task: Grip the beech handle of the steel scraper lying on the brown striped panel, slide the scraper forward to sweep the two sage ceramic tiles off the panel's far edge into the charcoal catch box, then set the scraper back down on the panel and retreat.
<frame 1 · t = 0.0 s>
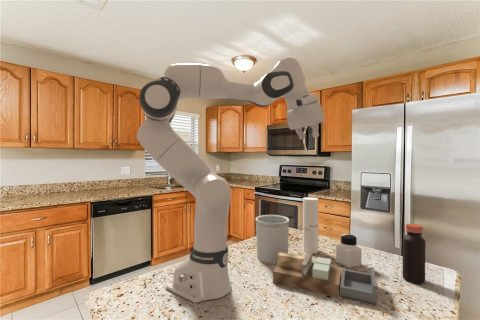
hand: (309, 138, 94), 52 cm above the countertop, tool tilted 20°, fingers open, 8 cm apart
catch box: (357, 290, 83), on the countertop
cylindrical container: (310, 250, 119), on the countertop
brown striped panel: (307, 280, 90), on the countertop
tile a: (321, 275, 85), point 4 cm above the countertop, touching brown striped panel
tile b: (323, 268, 91), point 4 cm above the countertop, touching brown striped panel
utensil holder: (272, 258, 111), on the countertop
medicine bottle: (348, 264, 105), on the countertop
vinegar: (413, 280, 91), on the countertop
scraper: (296, 267, 92), point 4 cm above the countertop, touching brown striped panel
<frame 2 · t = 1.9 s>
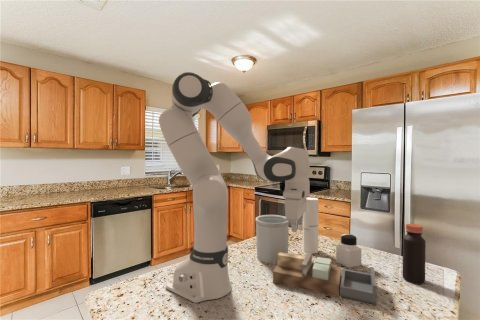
hand: (297, 227, 92), 19 cm above the countertop, tool pointing down, fingers open, 8 cm apart
nothing on the countertop moved.
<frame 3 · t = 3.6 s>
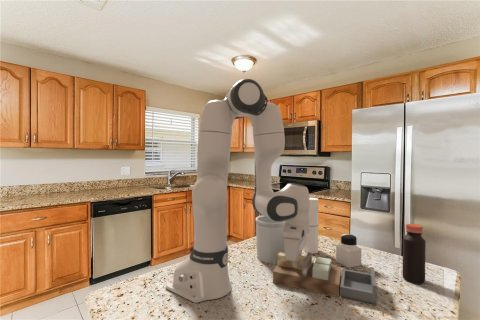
hand: (296, 264, 92), 5 cm above the countertop, tool pointing down, fingers closed on scraper, 3 cm apart
scraper: (296, 267, 92), point 4 cm above the countertop, touching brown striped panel, gripper
everything else where it was.
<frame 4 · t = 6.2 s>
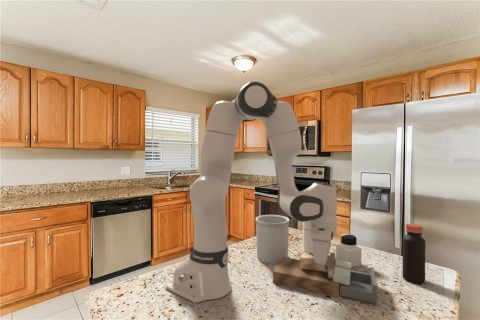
hand: (323, 267, 88), 6 cm above the countertop, tool pointing down, fingers closed on scraper, 3 cm apart
tile a: (341, 279, 83), point 4 cm above the countertop, touching scraper
tile b: (342, 271, 88), point 4 cm above the countertop
scraper: (321, 269, 88), point 5 cm above the countertop, touching gripper, tile a
everything else where it was.
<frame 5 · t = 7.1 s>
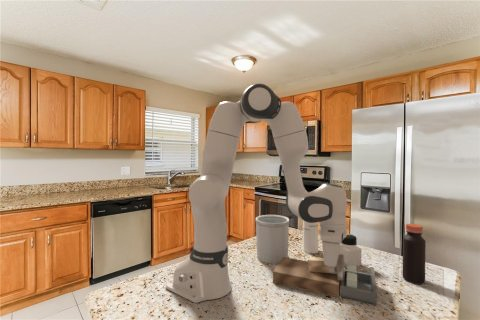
hand: (332, 269, 87), 6 cm above the countertop, tool pointing down, fingers closed on scraper, 3 cm apart
tile a: (347, 283, 82), point 3 cm above the countertop, tilted 90°, touching catch box
tile b: (346, 274, 88), point 3 cm above the countertop, tilted 90°, touching catch box
scraper: (330, 271, 87), point 5 cm above the countertop, tilted 6°, touching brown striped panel, gripper
everything else where it was.
when the fingers open (6 cm above the countertop, at t = 8.7 s): scraper stays where it is, resting on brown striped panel.
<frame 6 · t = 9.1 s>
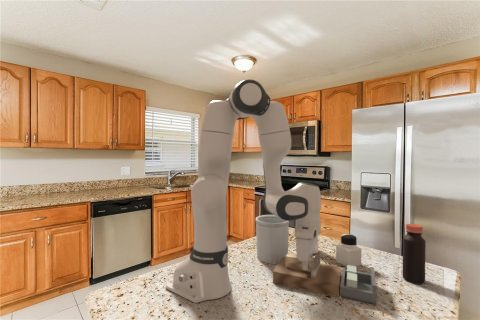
hand: (307, 264, 90), 6 cm above the countertop, tool pointing down, fingers open, 7 cm apart
scraper: (305, 268, 91), point 4 cm above the countertop, touching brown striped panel
everything else where it was.
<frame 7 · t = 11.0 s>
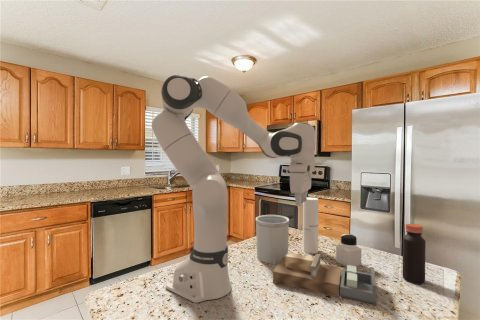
hand: (301, 203, 93), 27 cm above the countertop, tool pointing down, fingers open, 8 cm apart
nothing on the countertop moved.
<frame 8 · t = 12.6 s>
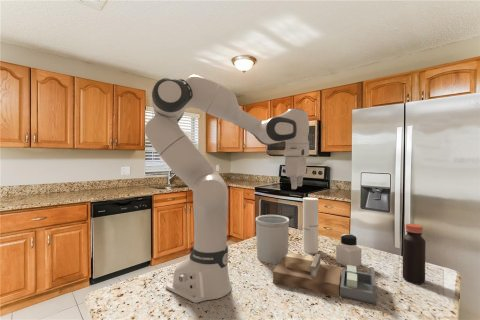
hand: (296, 187, 96), 33 cm above the countertop, tool pointing down, fingers open, 8 cm apart
nothing on the countertop moved.
at the end: tile a inside the target area on the catch box (4.5 cm from its centre), point 3.3 cm above the catch box's base; tile b inside the target area on the catch box (4.7 cm from its centre), point 3.3 cm above the catch box's base; scraper inside the target area on the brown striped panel (0.9 cm from its centre), point 4.0 cm above the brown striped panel's base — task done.
